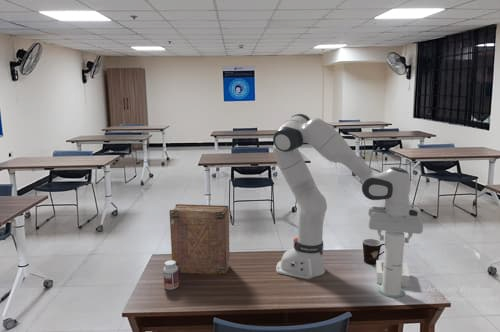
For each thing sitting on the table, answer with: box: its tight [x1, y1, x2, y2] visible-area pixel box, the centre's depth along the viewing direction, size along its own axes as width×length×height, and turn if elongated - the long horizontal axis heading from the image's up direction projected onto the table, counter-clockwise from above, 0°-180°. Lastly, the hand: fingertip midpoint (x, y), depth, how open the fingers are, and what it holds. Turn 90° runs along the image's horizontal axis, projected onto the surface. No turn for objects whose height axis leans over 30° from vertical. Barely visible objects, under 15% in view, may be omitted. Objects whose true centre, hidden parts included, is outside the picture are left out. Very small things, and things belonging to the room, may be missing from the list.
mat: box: [378, 284, 405, 298], centre depth 163 cm, size 10×10×1 cm
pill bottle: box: [162, 259, 180, 291], centre depth 168 cm, size 6×6×11 cm
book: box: [169, 203, 231, 276], centre depth 182 cm, size 25×9×30 cm, turn 82°
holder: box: [375, 259, 411, 288], centre depth 174 cm, size 13×13×5 cm
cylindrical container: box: [381, 231, 406, 295], centre depth 160 cm, size 7×7×25 cm
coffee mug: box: [362, 238, 385, 266], centre depth 190 cm, size 12×9×10 cm
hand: (393, 241), depth 159 cm, fingers open, 8 cm apart
